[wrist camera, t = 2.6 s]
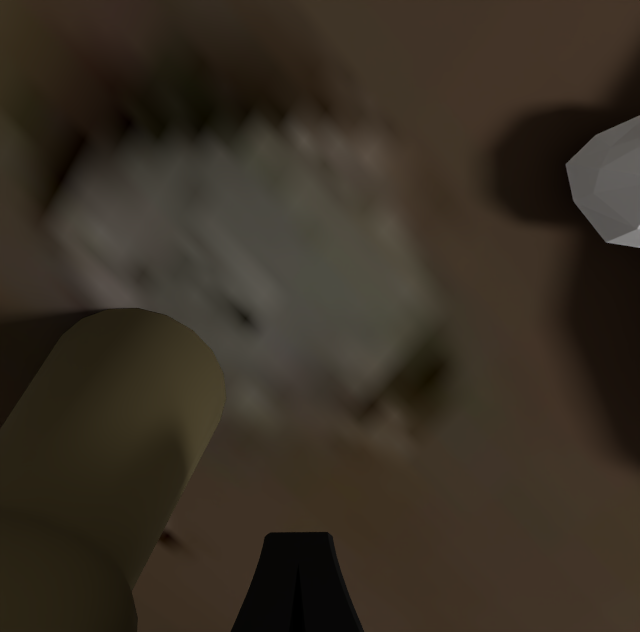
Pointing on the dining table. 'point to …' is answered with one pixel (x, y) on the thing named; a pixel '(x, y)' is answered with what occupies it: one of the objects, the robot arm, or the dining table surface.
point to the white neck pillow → (610, 183)
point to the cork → (99, 467)
